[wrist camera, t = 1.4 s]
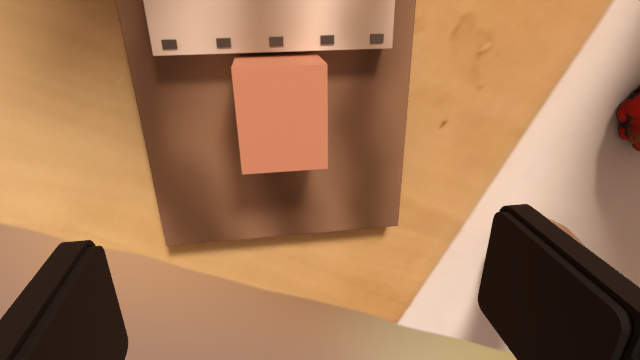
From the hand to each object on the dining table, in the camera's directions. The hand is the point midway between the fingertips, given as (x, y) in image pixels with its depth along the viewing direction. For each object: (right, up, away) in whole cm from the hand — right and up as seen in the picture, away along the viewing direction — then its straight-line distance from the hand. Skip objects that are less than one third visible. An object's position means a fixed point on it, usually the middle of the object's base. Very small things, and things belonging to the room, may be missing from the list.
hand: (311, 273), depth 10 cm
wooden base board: (-3, +10, +18) cm, 21 cm away
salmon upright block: (-3, +8, +17) cm, 19 cm away
